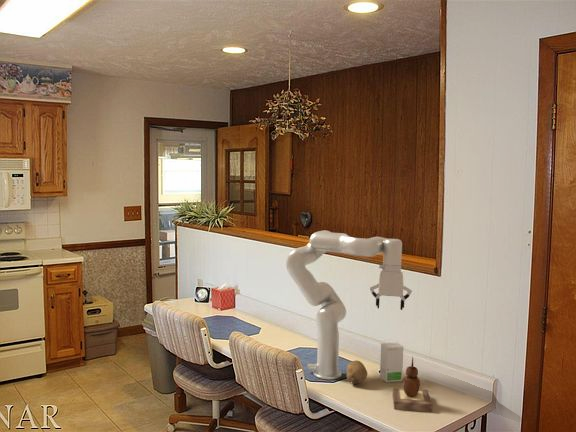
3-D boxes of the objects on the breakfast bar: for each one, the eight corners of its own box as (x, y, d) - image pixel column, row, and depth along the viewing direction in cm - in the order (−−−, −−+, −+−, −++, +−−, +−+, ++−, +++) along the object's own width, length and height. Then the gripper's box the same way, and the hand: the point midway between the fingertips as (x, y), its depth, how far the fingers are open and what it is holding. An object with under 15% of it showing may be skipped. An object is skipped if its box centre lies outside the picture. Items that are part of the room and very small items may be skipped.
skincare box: (385, 382, 236) (386, 347, 234) (378, 377, 242) (379, 343, 241) (403, 381, 238) (404, 346, 237) (396, 375, 244) (397, 341, 243)
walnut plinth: (394, 408, 209) (394, 400, 209) (392, 394, 223) (392, 386, 223) (431, 411, 207) (431, 403, 207) (427, 397, 221) (427, 389, 221)
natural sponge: (368, 381, 237) (369, 359, 236) (364, 388, 228) (365, 365, 228) (348, 378, 240) (348, 356, 239) (343, 385, 232) (344, 362, 231)
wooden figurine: (408, 390, 219) (409, 354, 218) (421, 394, 216) (422, 357, 215) (400, 395, 214) (401, 358, 213) (414, 399, 211) (415, 361, 209)
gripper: (370, 268, 225) (368, 309, 227) (413, 271, 222) (411, 312, 224) (370, 265, 233) (369, 304, 234) (412, 268, 230) (410, 307, 231)
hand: (389, 308), depth 229 cm, fingers open, 9 cm apart
